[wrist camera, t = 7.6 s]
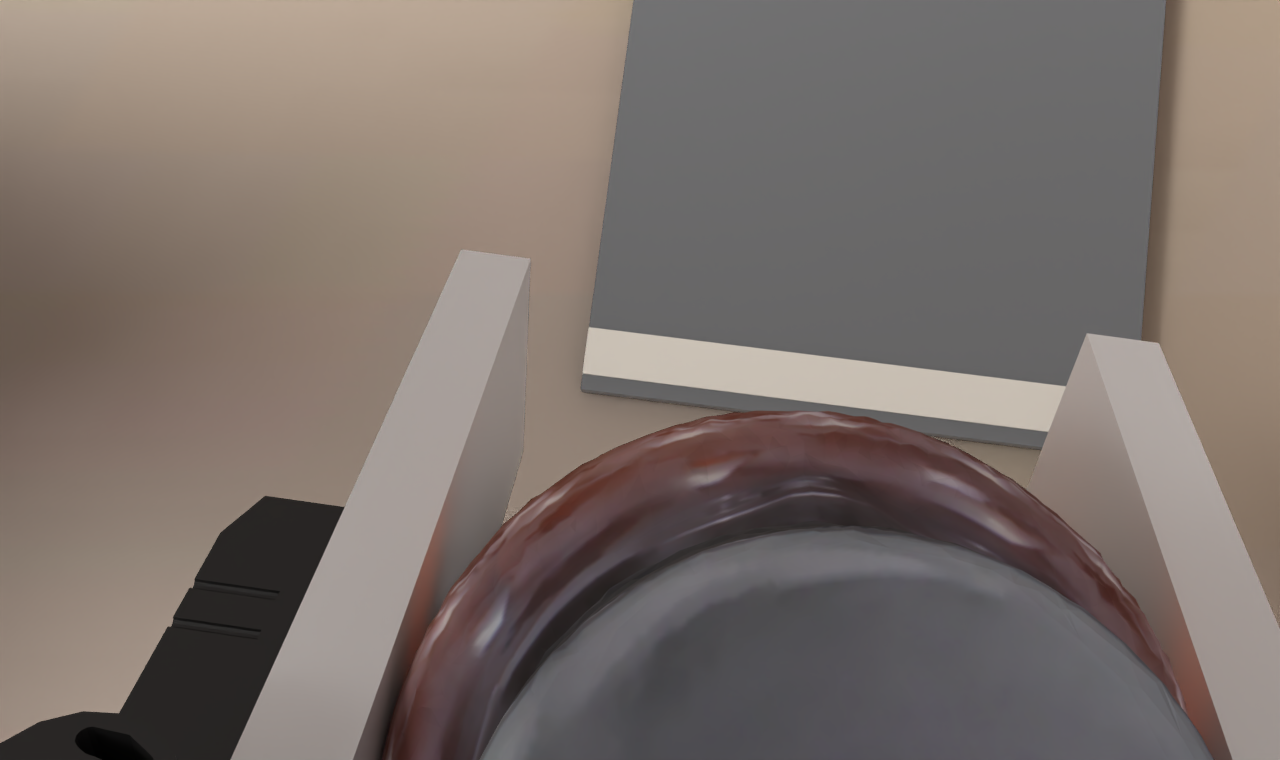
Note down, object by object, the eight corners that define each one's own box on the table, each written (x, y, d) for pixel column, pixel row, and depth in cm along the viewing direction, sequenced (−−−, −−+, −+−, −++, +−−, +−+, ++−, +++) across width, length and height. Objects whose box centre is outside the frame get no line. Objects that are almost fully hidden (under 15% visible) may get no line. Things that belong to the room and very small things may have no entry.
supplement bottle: (1022, 670, 17) (1792, 924, 5) (746, 1007, 16) (965, 2073, 5) (701, 391, 17) (795, 99, 6) (424, 706, 17) (-47, 1033, 5)
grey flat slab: (582, 391, 31) (580, 388, 30) (659, -175, 33) (659, -191, 32) (1122, 460, 30) (1134, 458, 30) (1166, -119, 32) (1177, -134, 32)
